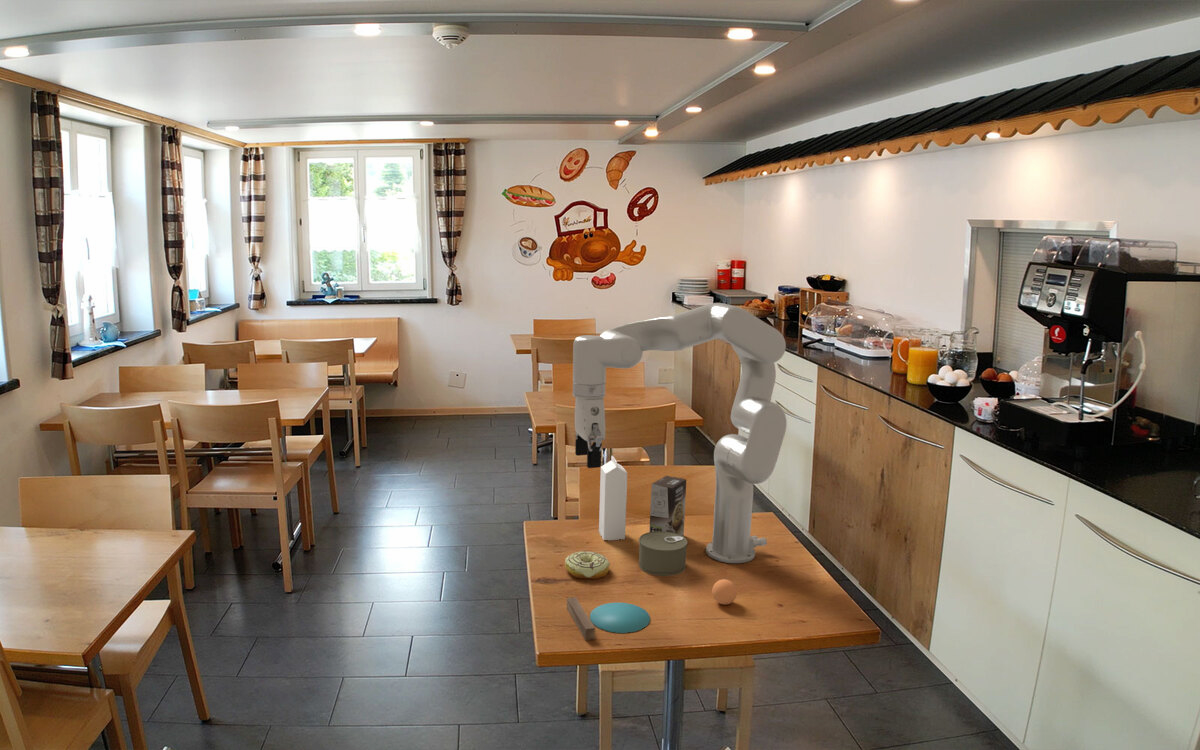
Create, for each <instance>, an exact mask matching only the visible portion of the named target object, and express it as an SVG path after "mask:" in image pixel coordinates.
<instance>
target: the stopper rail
mask: <svg viewBox="0 0 1200 750" xmlns="http://www.w3.org/2000/svg"><path fill="white" fill-rule="evenodd" d="M566 610H567V611H568V614H569V615H570V617H571V619H572V620H573V621H574V623H575V625H576V627H577V629H578V630H579V632H580V634H581V636H582V637H583V639H584V640H585V641H591V639H592V640H595V639H596V637H595V636H596V626H595V625H594V624H593V623H592V622H591V620H590V616H588V614H587V613H586V611H585V610H584V607H582V605H581V603H580V602H579V600H578V598H577V597H576V596H574V597H567V598H566Z"/></svg>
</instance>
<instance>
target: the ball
mask: <svg viewBox="0 0 1200 750" xmlns="http://www.w3.org/2000/svg"><path fill="white" fill-rule="evenodd" d="M711 591H712V597H713V599H714V600H715V601H716V602H717V603H718V604H721V605H729V604H730V605H731V603H733V602H734V601H735V600H736V598H737V595H738V590H737V587H736V585H735V583H734V582H733V581H731V580H729V579H725V578H723V579H719V580H718V581H716V582H715V583H714V584H713V586H712V589H711Z"/></svg>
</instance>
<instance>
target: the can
mask: <svg viewBox="0 0 1200 750" xmlns="http://www.w3.org/2000/svg"><path fill="white" fill-rule="evenodd" d="M638 543H639V545H638V546H639V553H638V556H639V557H638V558H639V559H638V568H640V569H641V570H642V571H643V572H645V573H646V574H649V575H653V576H658V577H672V576H673V577H674V576H677V575H680V574H682V573H683V572H684V571H685V570H686V563H687V562H686V561H687V548H688V547H687V546H688V540H687V538H686V537H685V536H684V535H683V536H681V535H679V534H676V533H673V532H667V531H654V532H649V531H648V532H645V533H643V534H641V535H640V536H639V538H638Z"/></svg>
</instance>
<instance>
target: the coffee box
mask: <svg viewBox="0 0 1200 750" xmlns="http://www.w3.org/2000/svg"><path fill="white" fill-rule="evenodd" d="M650 493H651V494H650V512H649V531H648V532H654V531H667V532H673V533H676V534H679V535H681V536H683V537H684V535H685V534H684V533H685V514H686V494H687V479H685V478H682V477H676V476H669V475H665V476H663V477H662V478H660V479H657V480H656V481H654V482H652V483H651V492H650Z"/></svg>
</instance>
